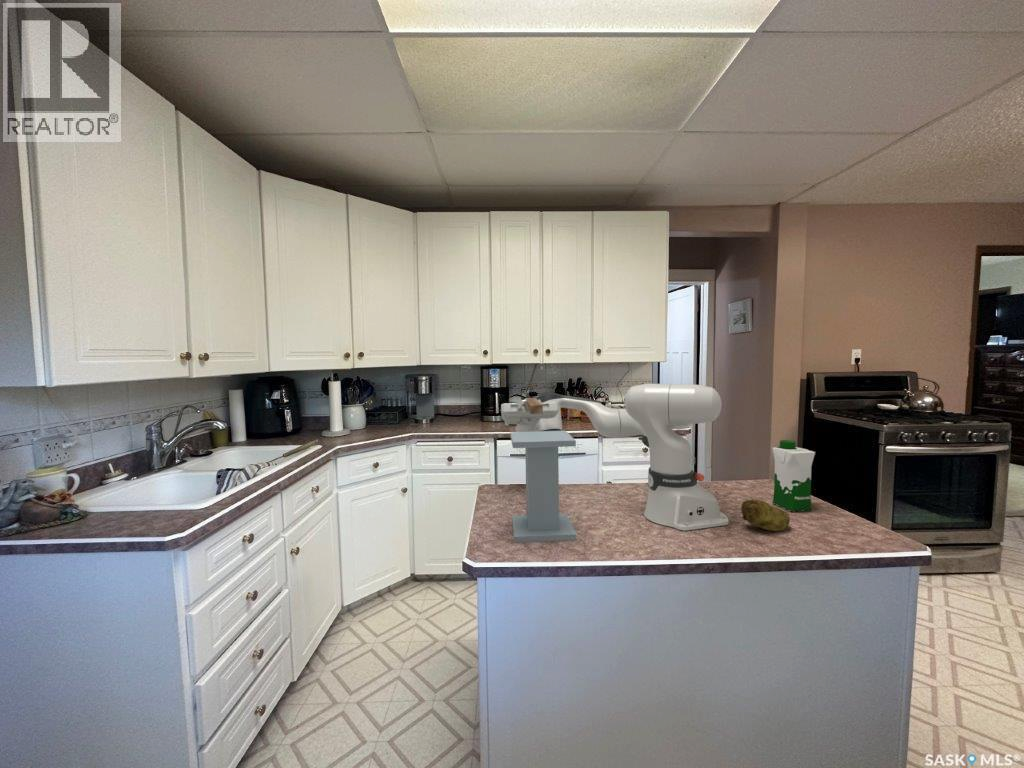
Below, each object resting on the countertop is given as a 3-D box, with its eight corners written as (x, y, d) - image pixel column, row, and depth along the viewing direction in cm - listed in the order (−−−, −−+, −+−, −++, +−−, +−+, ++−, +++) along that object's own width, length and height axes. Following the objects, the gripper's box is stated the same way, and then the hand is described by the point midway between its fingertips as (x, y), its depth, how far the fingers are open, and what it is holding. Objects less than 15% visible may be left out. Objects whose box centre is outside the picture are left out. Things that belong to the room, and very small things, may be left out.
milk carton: (792, 501, 128) (793, 439, 127) (817, 511, 119) (819, 445, 118) (767, 503, 127) (769, 440, 125) (791, 514, 118) (793, 446, 116)
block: (534, 404, 140) (534, 397, 140) (542, 413, 118) (542, 405, 118) (524, 405, 140) (524, 397, 140) (530, 413, 118) (530, 405, 118)
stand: (566, 518, 117) (565, 430, 116) (576, 540, 103) (575, 440, 102) (512, 520, 117) (510, 432, 115) (514, 542, 103) (512, 442, 101)
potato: (800, 537, 103) (801, 506, 102) (747, 534, 105) (747, 504, 104) (784, 523, 111) (784, 495, 111) (734, 521, 113) (734, 493, 113)
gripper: (557, 424, 147) (562, 409, 134) (501, 425, 146) (501, 411, 133) (555, 408, 149) (560, 392, 137) (500, 409, 148) (501, 393, 136)
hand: (531, 401), depth 135 cm, fingers closed on block, 3 cm apart
